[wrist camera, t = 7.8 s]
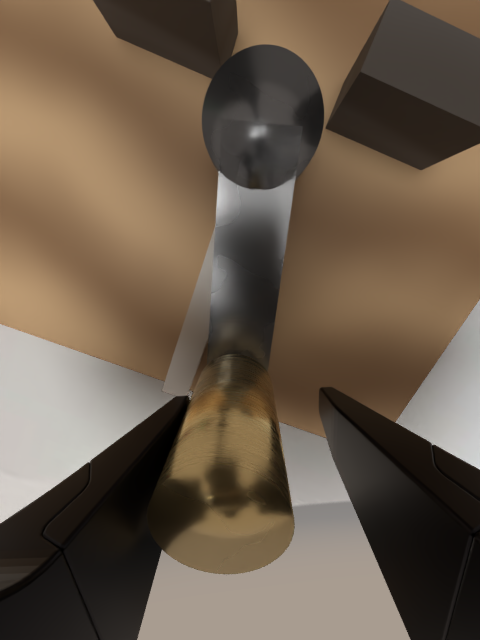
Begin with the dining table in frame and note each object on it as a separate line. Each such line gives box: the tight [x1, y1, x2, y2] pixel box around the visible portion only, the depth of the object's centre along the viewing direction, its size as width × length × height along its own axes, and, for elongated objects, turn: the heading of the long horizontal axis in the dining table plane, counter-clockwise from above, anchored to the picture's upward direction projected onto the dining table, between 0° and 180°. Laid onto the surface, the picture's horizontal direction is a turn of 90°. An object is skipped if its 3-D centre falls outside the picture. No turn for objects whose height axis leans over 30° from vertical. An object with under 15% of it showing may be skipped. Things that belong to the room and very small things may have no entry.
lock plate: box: [0, 0, 480, 438], centre depth 9 cm, size 21×23×4 cm
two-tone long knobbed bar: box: [147, 44, 324, 574], centre depth 7 cm, size 12×4×6 cm, turn 175°
